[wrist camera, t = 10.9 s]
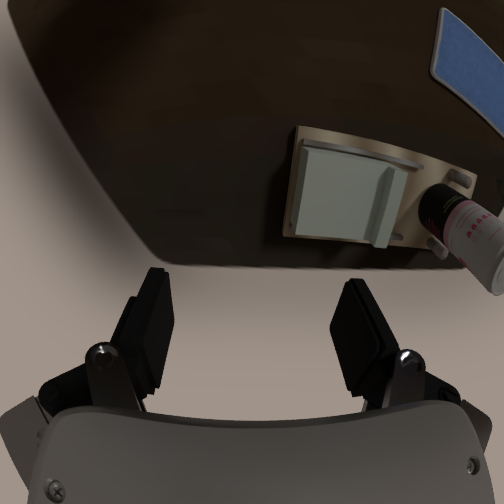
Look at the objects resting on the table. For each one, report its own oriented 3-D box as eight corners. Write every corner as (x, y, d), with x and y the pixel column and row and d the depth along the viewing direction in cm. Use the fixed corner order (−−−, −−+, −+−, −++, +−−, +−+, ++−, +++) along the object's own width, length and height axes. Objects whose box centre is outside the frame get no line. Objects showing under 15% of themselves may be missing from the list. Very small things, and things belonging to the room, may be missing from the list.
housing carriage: (290, 221, 30) (297, 241, 26) (301, 146, 25) (312, 154, 21) (370, 228, 30) (386, 248, 26) (386, 161, 26) (408, 173, 22)
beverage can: (454, 214, 30) (524, 275, 17) (421, 235, 31) (487, 308, 18) (447, 174, 27) (531, 227, 14) (411, 194, 28) (492, 261, 15)
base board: (281, 231, 32) (287, 252, 28) (296, 125, 25) (306, 129, 21) (448, 247, 34) (464, 263, 30) (472, 172, 27) (493, 183, 23)
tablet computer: (514, 79, 18) (519, 80, 17) (503, 140, 25) (508, 142, 23) (437, 5, 16) (442, 4, 14) (425, 75, 22) (431, 75, 21)
